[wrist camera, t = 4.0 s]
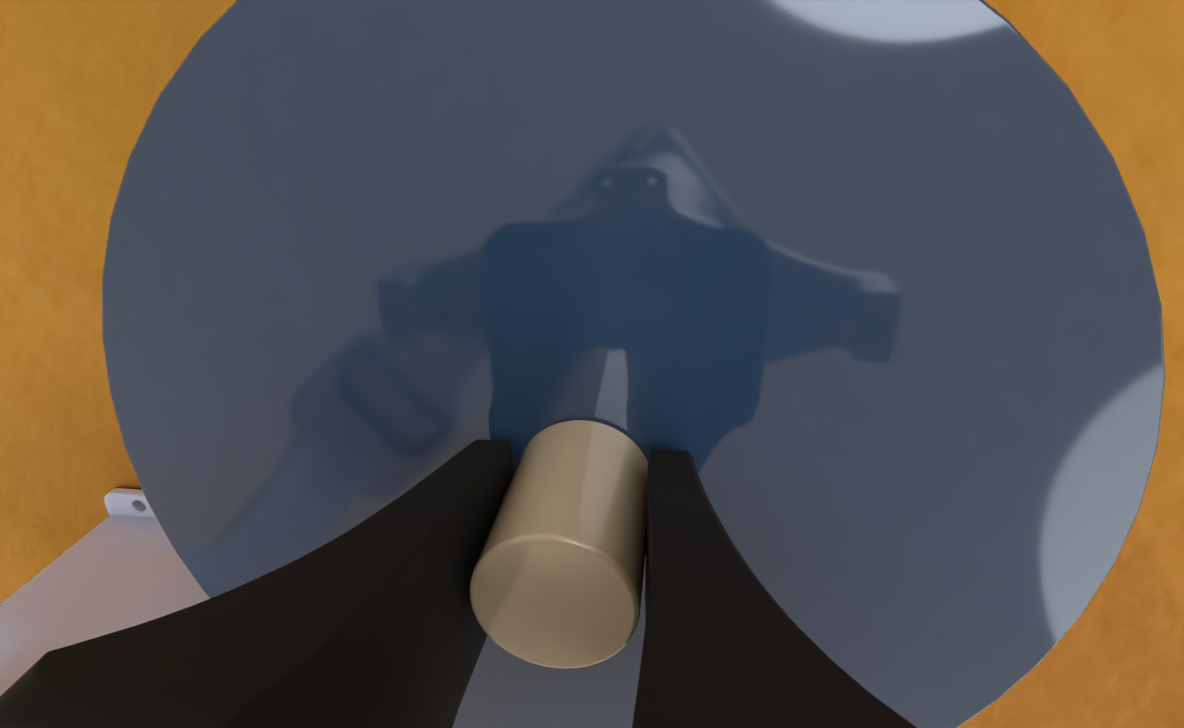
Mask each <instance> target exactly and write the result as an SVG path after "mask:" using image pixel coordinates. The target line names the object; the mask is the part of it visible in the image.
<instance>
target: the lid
mask: <svg viewBox="0 0 1184 728" xmlns="http://www.w3.org/2000/svg"><path fill="white" fill-rule="evenodd" d="M102 339H103V346H104V353H105V360H106V367H107V374H108V381H109V388H110V395H111V399H112V402H113V406H114V410H115V413H116V417H117V420H118V424H119V428H120V431H121V435H122V439H123V442H124V446H125V449H126V452H127V454H128V456H129V459H130V461H131V464H132V466H133V469H134V471H135V473H136V476H137V478H138V481H139V483H140V486H141V488H142V490H143V493H144V495H145V498H146V500H147V502H148V504H149V505H150V507H151V509H152V511H153V513H154V514H155V516H156V518H157V520H158V522H159V524H160V525H161V527H162V529H163V531H164V533H165V534H166V536H167V538H168V540H169V542H170V543H171V545H172V547H173V548H174V550H175V551H176V553H177V554H178V555H179V557H180V558H181V560H182V561H183V563H184V564H185V565H186V567H187V568H188V570H189V571H190V573H191V574H192V575H193V577H194V578H195V580H196V581H197V583H198V584H199V585H200V587H201V588H202V590H203V591H204V592H205V593H206V594H207V595H208V597H209V598H213V597H215V596H218V595H220V594H223V593H225V592H228V591H230V590H232V589H235V588H237V587H239V586H241V585H243V584H246V583H248V582H250V581H252V580H254V579H256V578H259V577H261V576H263V575H265V574H267V573H269V572H272V571H274V570H276V569H278V568H280V567H282V566H285V565H287V564H289V563H291V562H293V561H295V560H297V559H299V558H301V557H303V556H304V555H306V554H308V553H310V552H312V551H314V550H315V549H317V548H319V547H321V546H323V545H325V544H326V543H328V542H330V541H332V540H334V539H335V538H337V537H339V536H340V535H342V534H344V533H345V532H347V531H349V530H350V529H352V528H354V527H355V526H357V525H358V524H360V523H361V522H363V521H364V520H366V519H367V518H369V517H370V516H372V515H373V514H375V513H376V512H378V511H379V510H381V509H382V508H384V507H385V506H387V505H388V504H390V503H391V502H393V501H394V500H396V499H397V498H399V497H400V496H401V495H403V494H404V493H406V492H407V491H408V490H410V489H411V488H412V487H414V486H415V485H416V484H418V483H419V482H420V481H422V480H423V479H424V478H426V477H427V476H428V475H430V474H431V473H432V472H434V471H435V470H436V469H438V468H439V467H440V466H442V465H443V464H444V463H446V462H447V461H448V460H449V459H451V458H452V457H453V456H455V455H456V454H457V453H459V452H460V451H461V450H463V449H464V448H465V447H467V446H468V445H469V444H471V443H472V442H474V441H475V440H477V439H479V440H497V441H511V449H512V462H513V477H512V479H511V481H510V484H509V486H508V488H507V491H506V493H505V496H504V498H503V500H502V503H501V505H500V508H499V510H498V512H497V515H496V517H495V519H494V522H493V524H492V527H491V529H490V531H489V534H488V536H487V539H486V541H485V543H484V546H483V548H482V551H481V553H480V555H479V558H478V560H477V562H476V565H475V567H474V570H473V572H472V576H471V579H470V586H469V589H470V600H471V605H472V609H473V612H474V615H475V617H476V619H477V621H478V622H479V624H480V626H481V627H482V628H483V630H484V631H485V632H486V634H487V638H486V640H485V643H484V645H483V648H482V650H481V653H480V655H479V658H478V660H477V663H476V666H475V668H474V671H473V673H472V676H471V678H470V681H469V683H468V686H467V688H466V691H465V693H464V696H463V698H462V701H461V704H460V706H459V709H458V712H457V715H456V718H455V721H454V724H453V727H452V728H632V724H633V717H634V710H635V703H636V695H637V688H638V681H639V673H640V665H641V657H642V649H643V641H644V632H645V565H646V510H647V467H648V461H649V455H650V450H651V449H662V450H681V451H688V452H689V453H690V454H691V455H692V456H693V457H694V463H695V466H696V470H697V473H698V476H699V478H700V481H701V483H702V485H703V488H704V490H705V492H706V494H707V497H708V499H709V501H710V503H711V505H712V507H713V509H714V510H715V512H716V514H717V516H718V518H719V519H720V521H721V523H722V525H723V527H724V529H725V530H726V532H727V534H728V535H729V537H730V539H731V540H732V542H733V543H734V545H735V546H736V548H737V549H738V551H739V553H740V554H741V556H742V557H743V559H744V560H745V562H746V563H747V564H748V566H749V567H750V569H751V570H752V571H753V573H754V574H755V576H756V577H757V578H758V580H759V581H760V582H761V584H762V585H763V586H764V587H765V589H766V590H767V591H768V592H769V594H770V595H771V596H772V597H773V598H774V600H775V601H776V602H777V603H778V604H779V606H780V607H781V608H782V609H783V610H784V611H785V612H786V614H787V615H788V616H789V617H790V618H791V619H792V620H793V622H794V623H795V624H796V625H797V626H798V627H799V628H800V629H801V630H802V631H803V632H804V633H805V634H806V635H807V636H808V637H809V638H810V639H811V640H812V641H813V642H814V643H815V644H816V645H817V646H818V647H819V648H820V649H821V650H822V651H823V652H824V653H825V654H826V655H827V656H828V657H829V658H830V659H831V660H832V661H833V662H834V663H836V664H837V665H838V666H839V667H840V668H841V669H843V670H844V671H845V672H846V673H847V674H848V675H850V676H851V677H852V678H853V679H854V680H855V681H857V682H858V683H859V684H860V685H861V686H862V687H864V688H865V689H866V690H867V691H868V692H870V693H871V694H872V695H873V696H875V697H876V698H877V699H879V700H880V701H882V702H883V703H884V704H886V705H887V706H888V707H890V708H891V709H892V710H894V711H895V712H896V713H898V714H899V715H901V716H902V717H903V718H905V719H906V720H907V721H909V722H910V723H911V724H913V725H914V726H915V727H917V728H957V727H959V726H960V725H962V724H963V723H965V722H966V721H968V720H969V719H971V718H972V717H973V716H975V715H976V714H978V713H979V712H981V711H982V710H984V709H985V708H987V707H988V706H989V705H991V704H992V703H994V702H995V701H997V700H998V699H999V698H1000V697H1001V696H1002V695H1004V694H1005V693H1006V692H1007V691H1008V690H1009V689H1010V688H1012V687H1013V686H1014V685H1015V684H1016V683H1017V682H1018V681H1020V680H1021V679H1022V678H1023V677H1024V676H1025V675H1026V674H1027V673H1029V672H1030V671H1031V670H1032V669H1033V668H1034V667H1035V666H1037V665H1038V664H1039V663H1040V662H1041V661H1042V660H1043V659H1044V657H1045V656H1046V655H1047V654H1048V653H1049V652H1050V651H1051V649H1052V648H1053V647H1054V646H1055V645H1056V644H1057V643H1058V641H1059V640H1060V639H1061V638H1062V637H1063V636H1064V635H1065V633H1066V632H1067V631H1068V630H1069V629H1070V628H1071V627H1072V625H1073V624H1074V623H1075V622H1076V621H1077V620H1078V619H1079V617H1080V616H1081V614H1082V613H1083V611H1084V610H1085V608H1086V607H1087V605H1088V604H1089V602H1090V601H1091V599H1092V598H1093V596H1094V595H1095V593H1096V591H1097V590H1098V588H1099V587H1100V585H1101V584H1102V582H1103V581H1104V579H1105V578H1106V576H1107V575H1108V573H1109V572H1110V570H1111V569H1112V567H1113V565H1114V563H1115V561H1116V559H1117V557H1118V554H1119V552H1120V550H1121V548H1122V546H1123V544H1124V541H1125V539H1126V537H1127V535H1128V533H1129V531H1130V529H1131V526H1132V524H1133V522H1134V520H1135V518H1136V516H1137V513H1138V511H1139V509H1140V505H1141V502H1142V498H1143V495H1144V491H1145V488H1146V484H1147V481H1148V477H1149V474H1150V471H1151V467H1152V464H1153V460H1154V457H1155V453H1156V450H1157V446H1158V437H1159V428H1160V420H1161V411H1162V403H1163V394H1164V385H1165V362H1164V343H1163V324H1162V306H1161V302H1160V297H1159V293H1158V288H1157V284H1156V280H1155V275H1154V271H1153V267H1152V262H1151V258H1150V253H1149V249H1148V245H1147V240H1146V236H1145V232H1144V229H1143V227H1142V224H1141V222H1140V219H1139V217H1138V215H1137V212H1136V210H1135V207H1134V205H1133V203H1132V200H1131V198H1130V196H1129V193H1128V191H1127V188H1126V186H1125V184H1124V181H1123V179H1122V176H1121V174H1120V172H1119V169H1118V167H1117V164H1116V162H1115V160H1114V157H1113V156H1112V154H1111V152H1110V151H1109V149H1108V148H1107V146H1106V145H1105V143H1104V141H1103V140H1102V138H1101V137H1100V135H1099V134H1098V132H1097V130H1096V129H1095V127H1094V126H1093V124H1092V123H1091V121H1090V119H1089V118H1088V116H1087V115H1086V113H1085V112H1084V110H1083V109H1082V107H1081V105H1080V104H1079V102H1078V101H1077V99H1076V98H1075V96H1074V94H1073V93H1072V91H1071V90H1070V88H1069V87H1068V85H1067V84H1066V83H1065V82H1064V81H1063V80H1062V78H1061V77H1060V76H1059V75H1058V74H1057V73H1056V72H1055V71H1054V70H1053V68H1052V67H1051V66H1050V65H1049V64H1048V63H1047V62H1046V61H1045V60H1044V59H1043V57H1042V56H1041V55H1040V54H1039V53H1038V52H1037V51H1036V50H1035V49H1034V48H1033V46H1032V45H1031V44H1030V43H1029V42H1028V41H1027V40H1026V39H1025V38H1024V37H1023V35H1022V34H1021V33H1020V32H1019V31H1018V30H1017V29H1016V28H1015V27H1014V26H1013V24H1012V23H1011V22H1010V21H1009V20H1008V19H1007V18H1006V17H1004V16H1003V15H1002V14H1001V13H999V12H998V11H997V10H996V9H994V8H993V7H992V6H990V5H989V4H988V3H987V2H985V1H984V0H237V1H236V2H235V3H234V4H233V5H232V6H231V7H230V8H229V9H228V10H227V11H226V12H225V13H224V14H223V15H222V16H221V17H220V18H219V19H218V20H217V21H216V22H215V23H214V24H213V25H212V26H211V27H210V28H209V29H208V30H207V31H206V32H205V33H204V34H203V35H202V36H201V37H200V39H199V40H198V42H197V43H196V44H195V46H194V47H193V49H192V50H191V51H190V53H189V54H188V56H187V57H186V58H185V60H184V61H183V63H182V64H181V66H180V67H179V68H178V70H177V71H176V73H175V74H174V75H173V77H172V78H171V80H170V81H169V83H168V84H167V85H166V87H165V88H164V90H163V91H162V92H161V94H160V95H159V97H158V99H157V101H156V103H155V105H154V107H153V109H152V111H151V113H150V115H149V117H148V119H147V122H146V124H145V126H144V128H143V130H142V132H141V134H140V136H139V138H138V140H137V142H136V144H135V146H134V148H133V150H132V152H131V154H130V157H129V160H128V163H127V166H126V170H125V173H124V176H123V180H122V183H121V186H120V189H119V193H118V196H117V199H116V203H115V206H114V209H113V213H112V216H111V220H110V227H109V234H108V241H107V248H106V255H105V263H104V270H103V277H102Z"/></svg>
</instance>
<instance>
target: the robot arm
mask: <svg viewBox="0 0 1184 728" xmlns="http://www.w3.org/2000/svg"><path fill="white" fill-rule="evenodd" d="M512 477H513V462H512V449H511V441H497V440H479V439H477V440H475V441H474V442H472V443H471V444H469V445H468V446H467V447H465V448H464V449H463V450H461V451H460V452H459V453H457V454H456V455H455V456H453V457H452V458H451V459H449V460H448V461H447V462H446V463H444V464H443V465H442V466H440V467H439V468H438V469H436V470H435V471H434V472H432V473H431V474H430V475H428V476H427V477H426V478H424V479H423V480H422V481H420V482H419V483H418V484H416V485H415V486H414V487H412V488H411V489H410V490H408V491H407V492H406V493H404V494H403V495H401V496H400V497H399V498H397V499H396V500H394V501H393V502H391V503H390V504H388V505H387V506H385V507H384V508H382V509H381V510H379V511H378V512H376V513H375V514H373V515H372V516H370V517H369V518H367V519H366V520H364V521H363V522H361V523H360V524H358V525H357V526H355V527H354V528H352V529H350V530H349V531H347V532H345V533H344V534H342V535H340V536H339V537H337V538H335V539H334V540H332V541H330V542H328V543H326V544H325V545H323V546H321V547H319V548H317V549H315V550H314V551H312V552H310V553H308V554H306V555H304V556H303V557H301V558H299V559H297V560H295V561H293V562H291V563H289V564H287V565H285V566H282V567H280V568H278V569H276V570H274V571H272V572H269V573H267V574H265V575H263V576H261V577H259V578H256V579H254V580H252V581H250V582H248V583H246V584H243V585H241V586H239V587H237V588H235V589H232V590H230V591H228V592H225V593H223V594H220V595H218V596H215V597H213V598H209V597H208V595H207V594H206V593H205V592H204V591H203V590H202V588H201V587H200V585H199V584H198V583H197V581H196V580H195V578H194V577H193V575H192V574H191V573H190V571H189V570H188V568H187V567H186V565H185V564H184V563H183V561H182V560H181V558H180V557H179V555H178V554H177V553H176V551H175V550H174V548H173V547H172V545H171V543H170V542H169V540H168V538H167V536H166V534H165V533H164V531H163V529H162V527H161V525H160V524H159V522H158V520H157V518H156V516H155V514H154V513H153V511H152V509H151V507H150V505H149V504H148V502H147V500H146V498H145V495H144V493H143V490H138V489H124V488H115V489H113V490H111V491H110V492H109V493H107V494H106V495H105V497H104V501H105V505H106V508H107V510H108V513H109V516H108V517H107V518H106V519H105V520H103V521H102V522H101V523H100V524H98V525H97V526H96V527H95V528H93V529H92V530H91V531H90V532H89V533H87V534H86V535H85V536H84V537H82V538H81V539H80V540H79V541H77V542H76V543H75V544H74V545H72V546H71V547H70V548H69V549H67V550H66V551H65V552H64V553H63V554H61V555H60V556H59V557H58V558H56V559H55V560H54V561H53V562H51V563H50V564H49V565H48V566H46V567H45V568H44V569H43V570H42V571H40V572H39V573H38V574H37V575H35V576H34V577H33V578H32V579H30V580H29V581H28V582H27V583H25V584H24V585H23V586H22V587H20V588H19V589H18V590H17V591H16V592H14V593H13V594H12V595H11V596H9V597H8V598H7V599H6V600H4V601H3V602H2V603H1V604H0V728H452V727H453V724H454V721H455V718H456V715H457V712H458V709H459V706H460V704H461V701H462V698H463V696H464V693H465V691H466V688H467V686H468V683H469V681H470V678H471V676H472V673H473V671H474V668H475V666H476V663H477V660H478V658H479V655H480V653H481V650H482V648H483V645H484V643H485V640H486V638H487V634H486V632H485V631H484V630H483V628H482V627H481V626H480V624H479V622H478V621H477V619H476V617H475V615H474V612H473V609H472V605H471V600H470V589H469V586H470V579H471V576H472V572H473V570H474V567H475V565H476V562H477V560H478V558H479V555H480V553H481V551H482V548H483V546H484V543H485V541H486V539H487V536H488V534H489V531H490V529H491V527H492V524H493V522H494V519H495V517H496V515H497V512H498V510H499V508H500V505H501V503H502V500H503V498H504V496H505V493H506V491H507V488H508V486H509V484H510V481H511V479H512ZM632 728H917V727H915V726H914V725H913V724H911V723H910V722H909V721H907V720H906V719H905V718H903V717H902V716H901V715H899V714H898V713H896V712H895V711H894V710H892V709H891V708H890V707H888V706H887V705H886V704H884V703H883V702H882V701H880V700H879V699H877V698H876V697H875V696H873V695H872V694H871V693H870V692H868V691H867V690H866V689H865V688H864V687H862V686H861V685H860V684H859V683H858V682H857V681H855V680H854V679H853V678H852V677H851V676H850V675H848V674H847V673H846V672H845V671H844V670H843V669H841V668H840V667H839V666H838V665H837V664H836V663H834V662H833V661H832V660H831V659H830V658H829V657H828V656H827V655H826V654H825V653H824V652H823V651H822V650H821V649H820V648H819V647H818V646H817V645H816V644H815V643H814V642H813V641H812V640H811V639H810V638H809V637H808V636H807V635H806V634H805V633H804V632H803V631H802V630H801V629H800V628H799V627H798V626H797V625H796V624H795V623H794V622H793V620H792V619H791V618H790V617H789V616H788V615H787V614H786V612H785V611H784V610H783V609H782V608H781V607H780V606H779V604H778V603H777V602H776V601H775V600H774V598H773V597H772V596H771V595H770V594H769V592H768V591H767V590H766V589H765V587H764V586H763V585H762V584H761V582H760V581H759V580H758V578H757V577H756V576H755V574H754V573H753V571H752V570H751V569H750V567H749V566H748V564H747V563H746V562H745V560H744V559H743V557H742V556H741V554H740V553H739V551H738V549H737V548H736V546H735V545H734V543H733V542H732V540H731V539H730V537H729V535H728V534H727V532H726V530H725V529H724V527H723V525H722V523H721V521H720V519H719V518H718V516H717V514H716V512H715V510H714V509H713V507H712V505H711V503H710V501H709V499H708V497H707V494H706V492H705V490H704V488H703V485H702V483H701V481H700V478H699V476H698V473H697V470H696V466H695V463H694V457H693V456H692V455H691V454H690V453H689V452H688V451H681V450H662V449H651V450H650V455H649V461H648V467H647V510H646V565H645V632H644V641H643V649H642V657H641V665H640V673H639V681H638V688H637V695H636V703H635V710H634V717H633V724H632Z"/></svg>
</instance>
